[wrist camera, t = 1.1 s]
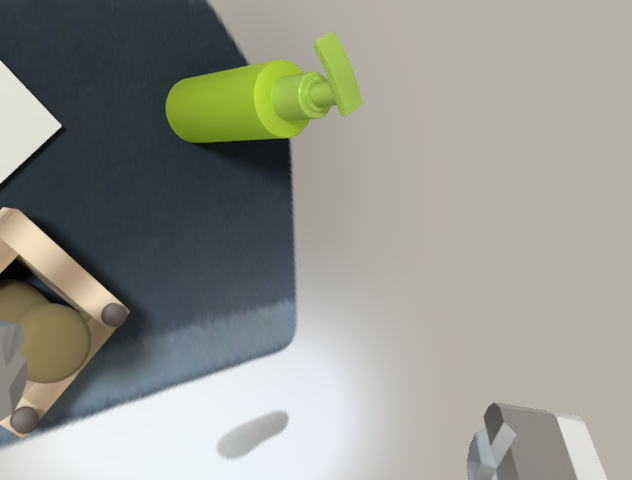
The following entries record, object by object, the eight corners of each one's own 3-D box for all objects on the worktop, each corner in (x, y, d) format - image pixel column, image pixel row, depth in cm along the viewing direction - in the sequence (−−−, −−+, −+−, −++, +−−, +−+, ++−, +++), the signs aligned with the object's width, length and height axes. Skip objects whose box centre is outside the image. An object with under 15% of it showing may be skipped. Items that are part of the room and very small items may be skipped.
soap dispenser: (197, 56, 56) (356, 18, 41) (230, 124, 59) (387, 110, 44) (148, 84, 53) (300, 52, 38) (184, 154, 56) (338, 149, 41)
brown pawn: (58, 330, 49) (119, 361, 41) (-16, 372, 46) (34, 415, 38) (26, 265, 47) (83, 284, 39) (-55, 303, 44) (-10, 334, 36)
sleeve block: (-131, 334, 41) (-121, 348, 38) (3, 207, 46) (21, 210, 43) (8, 424, 47) (27, 442, 44) (112, 304, 52) (135, 313, 49)
